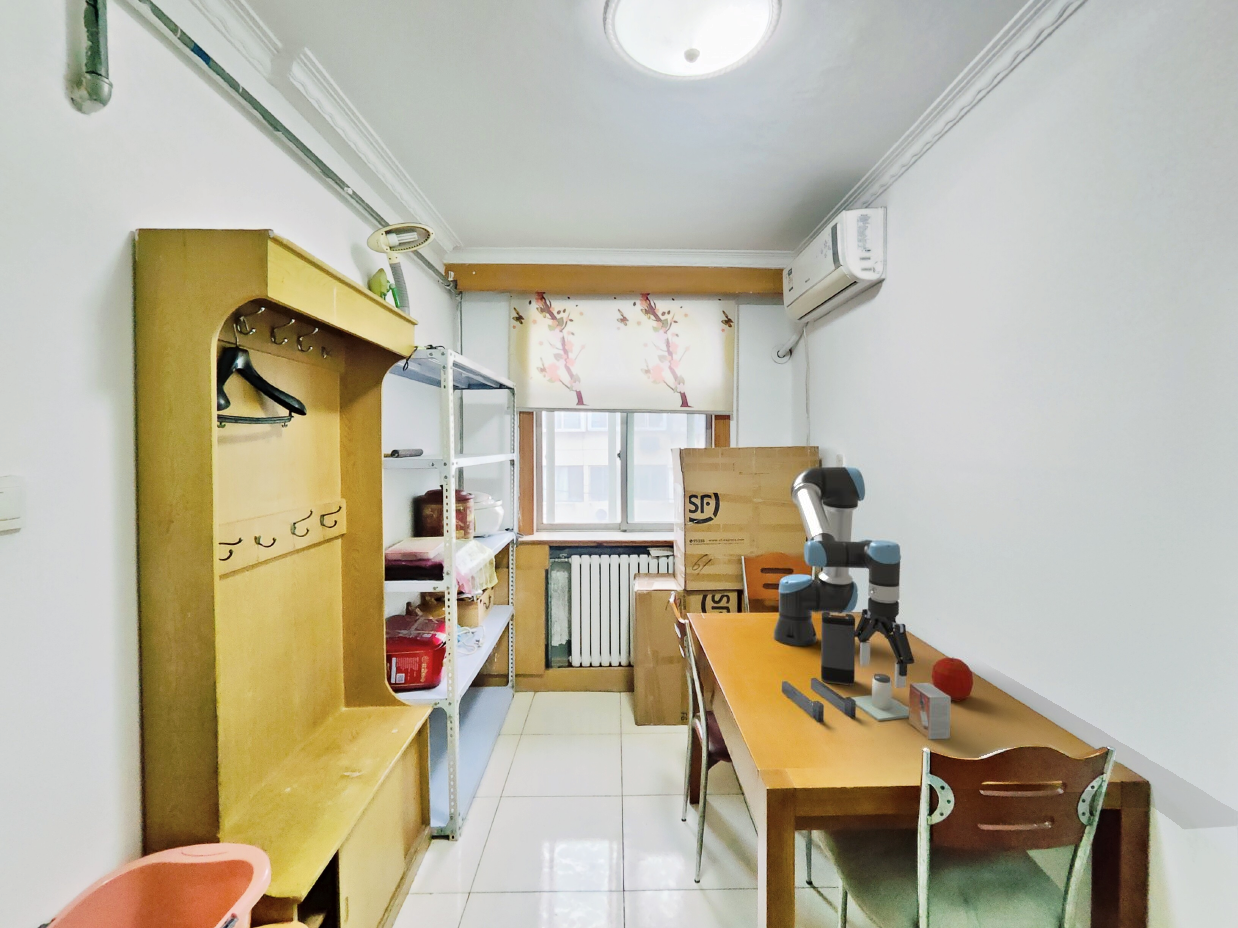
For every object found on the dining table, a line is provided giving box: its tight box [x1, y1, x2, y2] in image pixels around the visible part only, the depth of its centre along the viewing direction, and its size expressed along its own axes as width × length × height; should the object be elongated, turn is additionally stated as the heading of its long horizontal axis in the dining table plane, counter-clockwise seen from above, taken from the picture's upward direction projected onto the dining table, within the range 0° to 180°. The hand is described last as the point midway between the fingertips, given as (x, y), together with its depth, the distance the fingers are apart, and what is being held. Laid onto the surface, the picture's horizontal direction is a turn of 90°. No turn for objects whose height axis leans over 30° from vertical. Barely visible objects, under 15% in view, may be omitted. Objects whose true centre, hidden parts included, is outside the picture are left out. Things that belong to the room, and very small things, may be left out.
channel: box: [781, 677, 857, 723], centre depth 148 cm, size 18×11×4 cm, turn 13°
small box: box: [908, 682, 952, 740], centre depth 134 cm, size 8×6×10 cm
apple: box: [931, 657, 974, 702], centre depth 152 cm, size 10×10×12 cm
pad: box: [851, 694, 909, 722], centre depth 146 cm, size 12×12×1 cm
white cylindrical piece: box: [871, 673, 893, 710], centre depth 146 cm, size 5×5×8 cm
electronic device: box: [820, 612, 856, 686], centre depth 163 cm, size 9×6×20 cm, turn 71°
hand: (881, 675), depth 147 cm, fingers open, 13 cm apart
